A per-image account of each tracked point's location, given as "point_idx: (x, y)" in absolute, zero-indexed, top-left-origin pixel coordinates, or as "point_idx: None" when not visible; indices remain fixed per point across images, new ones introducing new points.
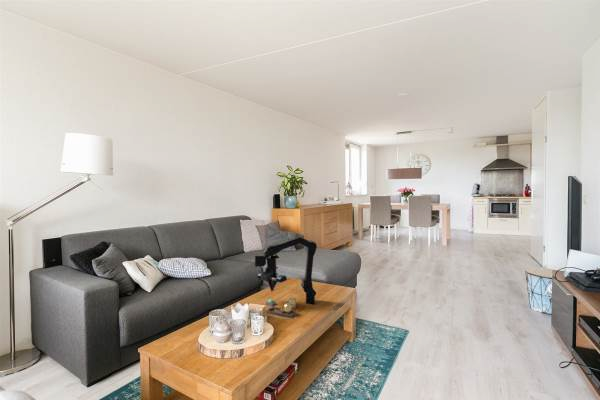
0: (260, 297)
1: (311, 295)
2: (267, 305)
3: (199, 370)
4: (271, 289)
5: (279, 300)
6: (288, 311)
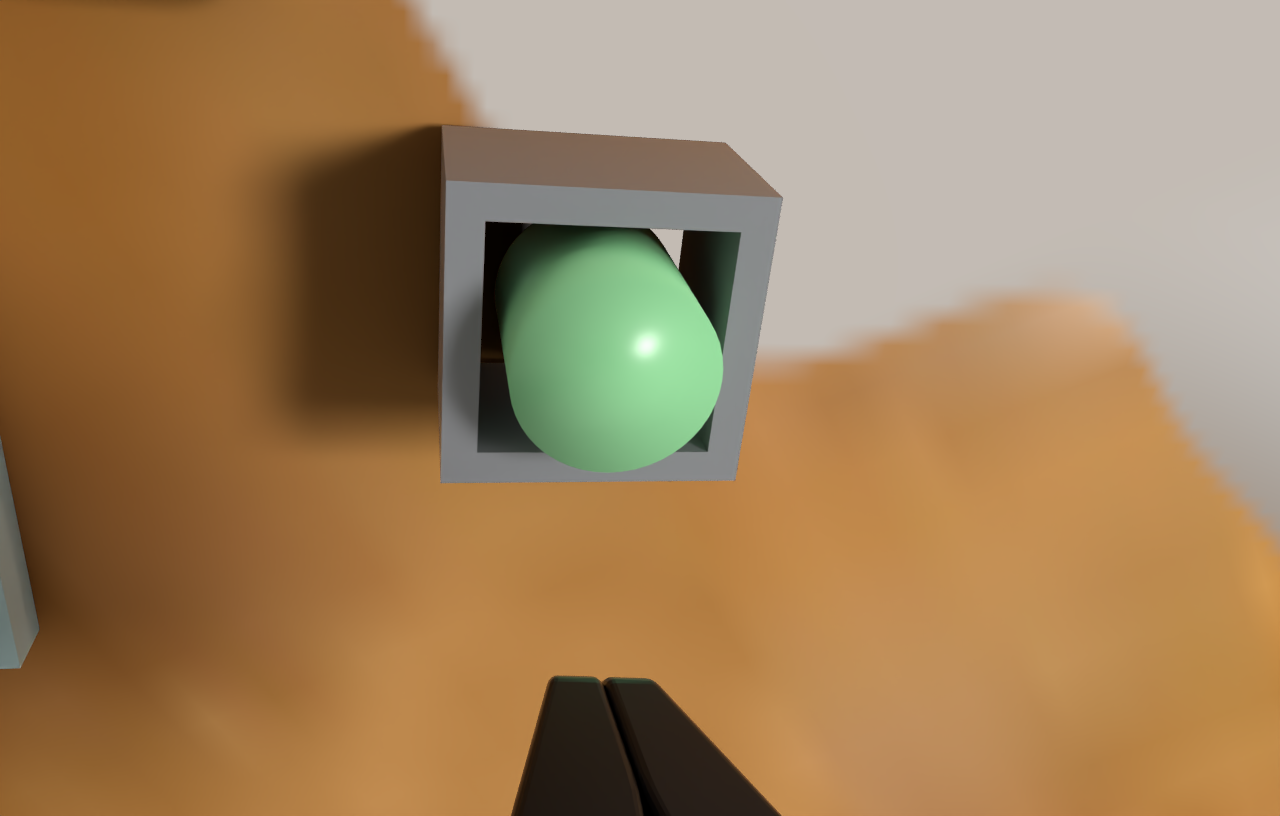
0: (1165, 723)
1: None
2: (665, 155)
3: None
4: (635, 750)
5: None
6: None
